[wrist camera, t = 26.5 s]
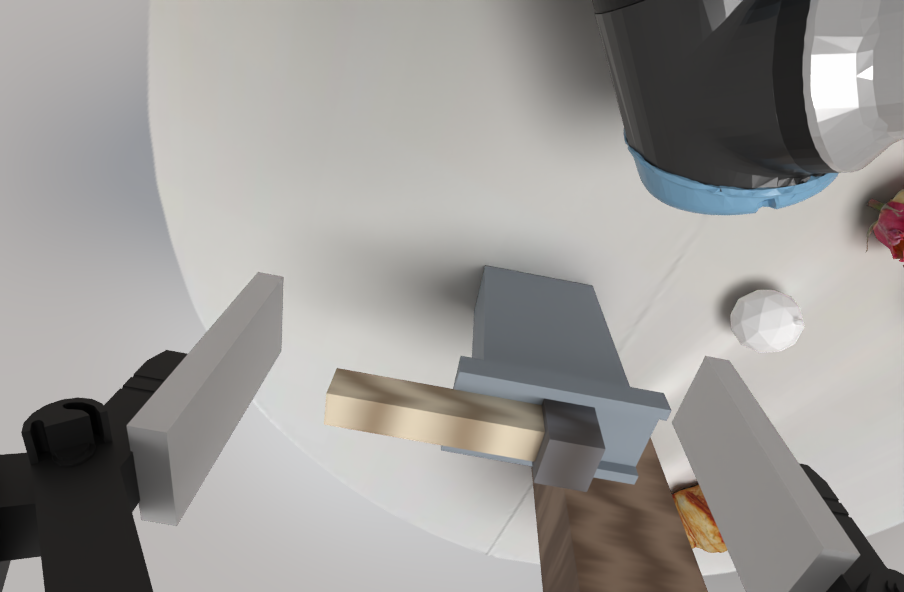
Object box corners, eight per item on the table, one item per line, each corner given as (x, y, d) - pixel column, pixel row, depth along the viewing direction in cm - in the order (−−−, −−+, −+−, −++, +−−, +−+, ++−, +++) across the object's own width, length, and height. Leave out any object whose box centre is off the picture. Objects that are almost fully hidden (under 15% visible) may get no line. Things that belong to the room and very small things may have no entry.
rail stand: (455, 316, 61) (441, 450, 43) (468, 253, 57) (459, 371, 39) (591, 341, 62) (634, 484, 43) (613, 281, 58) (671, 410, 39)
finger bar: (333, 404, 42) (318, 444, 39) (337, 360, 40) (321, 398, 37) (578, 448, 43) (586, 492, 39) (594, 407, 41) (605, 449, 37)
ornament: (713, 290, 58) (775, 288, 51) (760, 290, 60) (826, 288, 53) (714, 351, 58) (777, 357, 51) (762, 348, 60) (827, 353, 53)
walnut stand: (530, 460, 71) (555, 727, 45) (550, 403, 66) (591, 665, 40) (618, 476, 72) (692, 749, 45) (644, 420, 67) (744, 690, 41)
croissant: (629, 521, 81) (652, 578, 76) (605, 514, 74) (629, 577, 69) (769, 468, 74) (804, 528, 69) (757, 454, 66) (796, 520, 62)
